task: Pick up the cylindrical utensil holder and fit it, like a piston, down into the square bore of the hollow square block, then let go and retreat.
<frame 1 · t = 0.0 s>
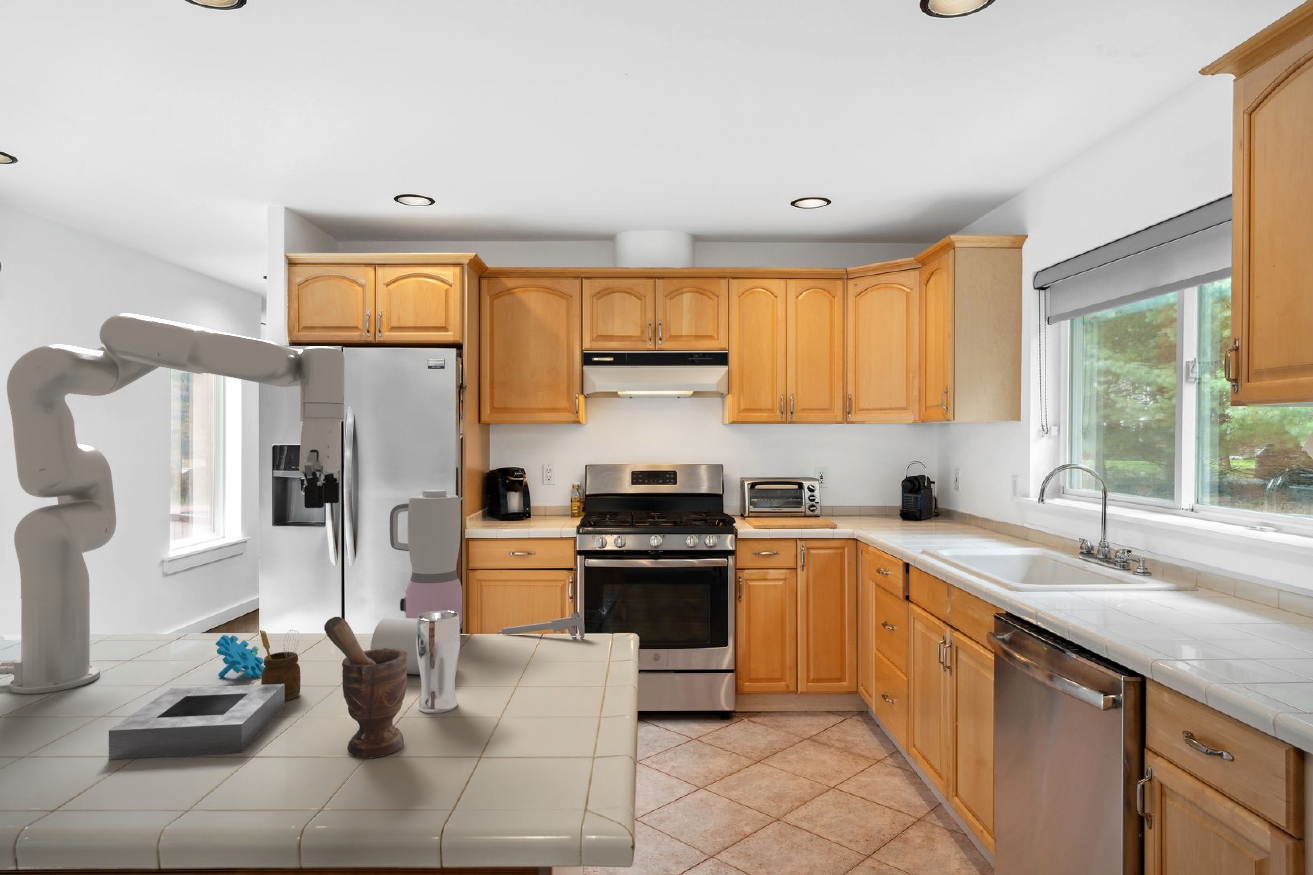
hand: (322, 505, 139), 31 cm above the counter, fingers open, 9 cm apart
blender: (426, 634, 166), on the counter
gear: (241, 677, 137), on the counter
toilet paper: (408, 673, 140), on the counter
hollow square block: (204, 731, 111), on the counter
mortar and pestle: (368, 754, 104), on the counter
utensil holder: (280, 698, 126), on the counter
caliper: (539, 638, 165), on the counter
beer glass: (438, 707, 122), on the counter
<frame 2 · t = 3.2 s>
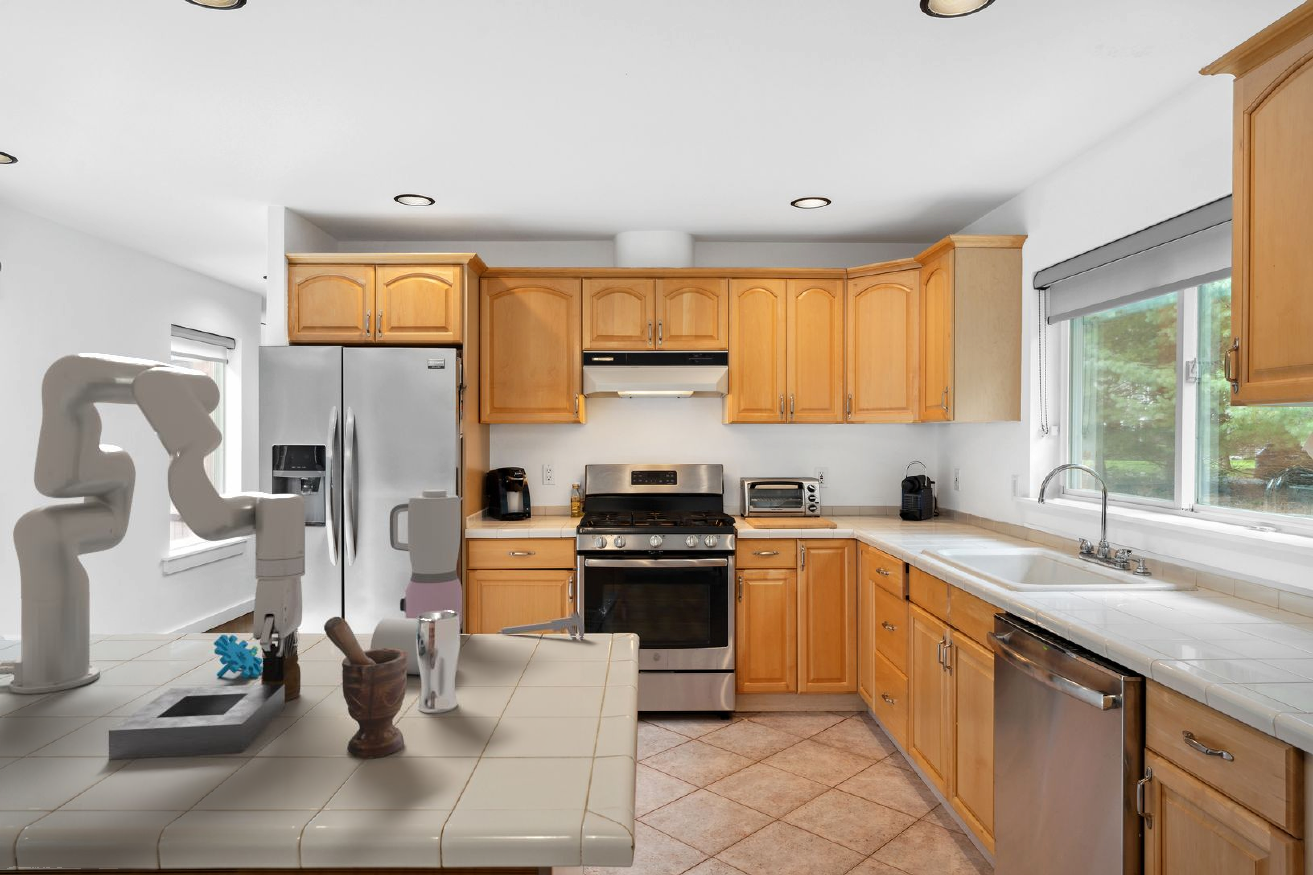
hand: (280, 673, 126), 4 cm above the counter, fingers closed on utensil holder, 5 cm apart
utensil holder: (280, 698, 126), on the counter, touching gripper
everything else where it was.
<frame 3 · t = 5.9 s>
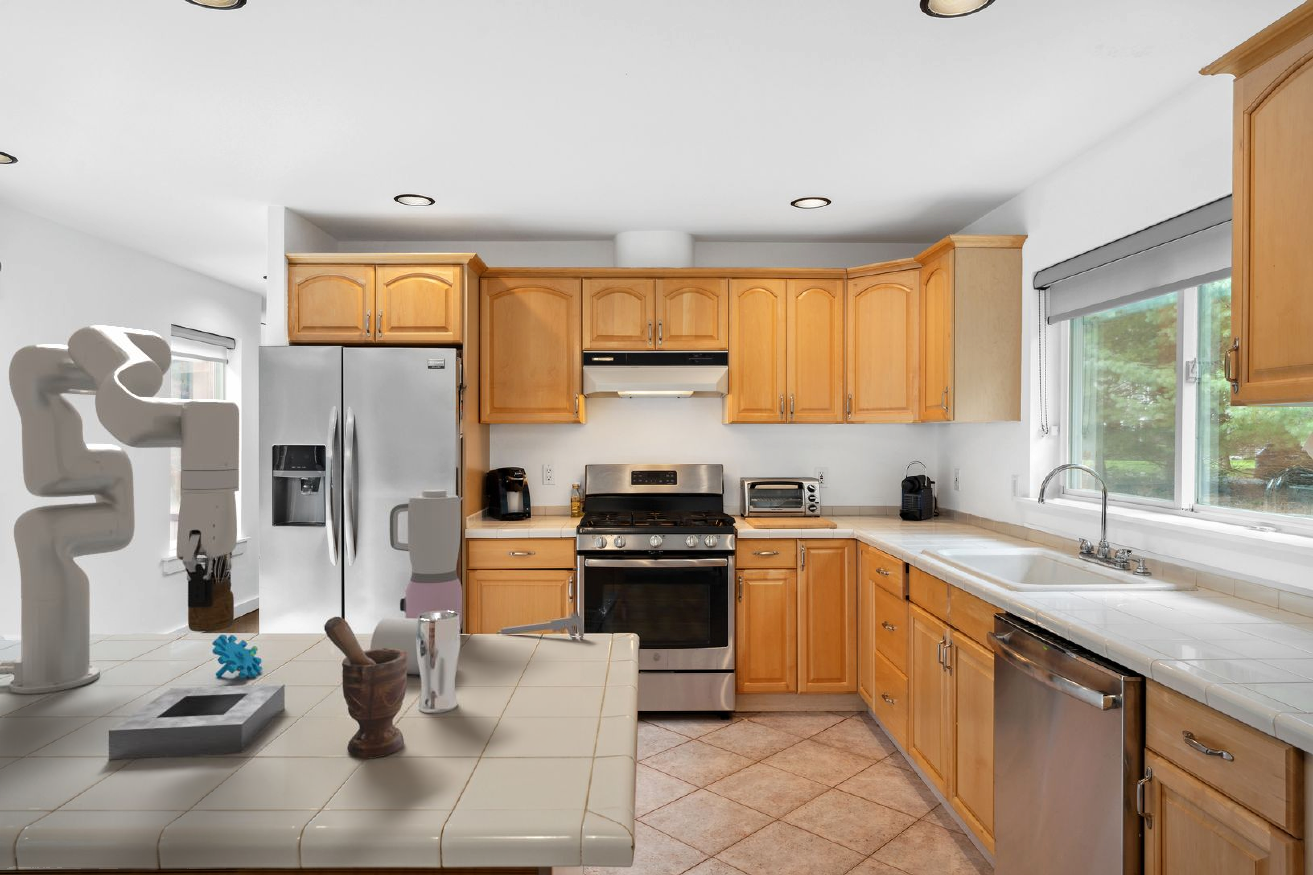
hand: (209, 600, 112), 19 cm above the counter, fingers closed on utensil holder, 5 cm apart
utensil holder: (210, 628, 113), point 15 cm above the counter, touching gripper
everything else where it was.
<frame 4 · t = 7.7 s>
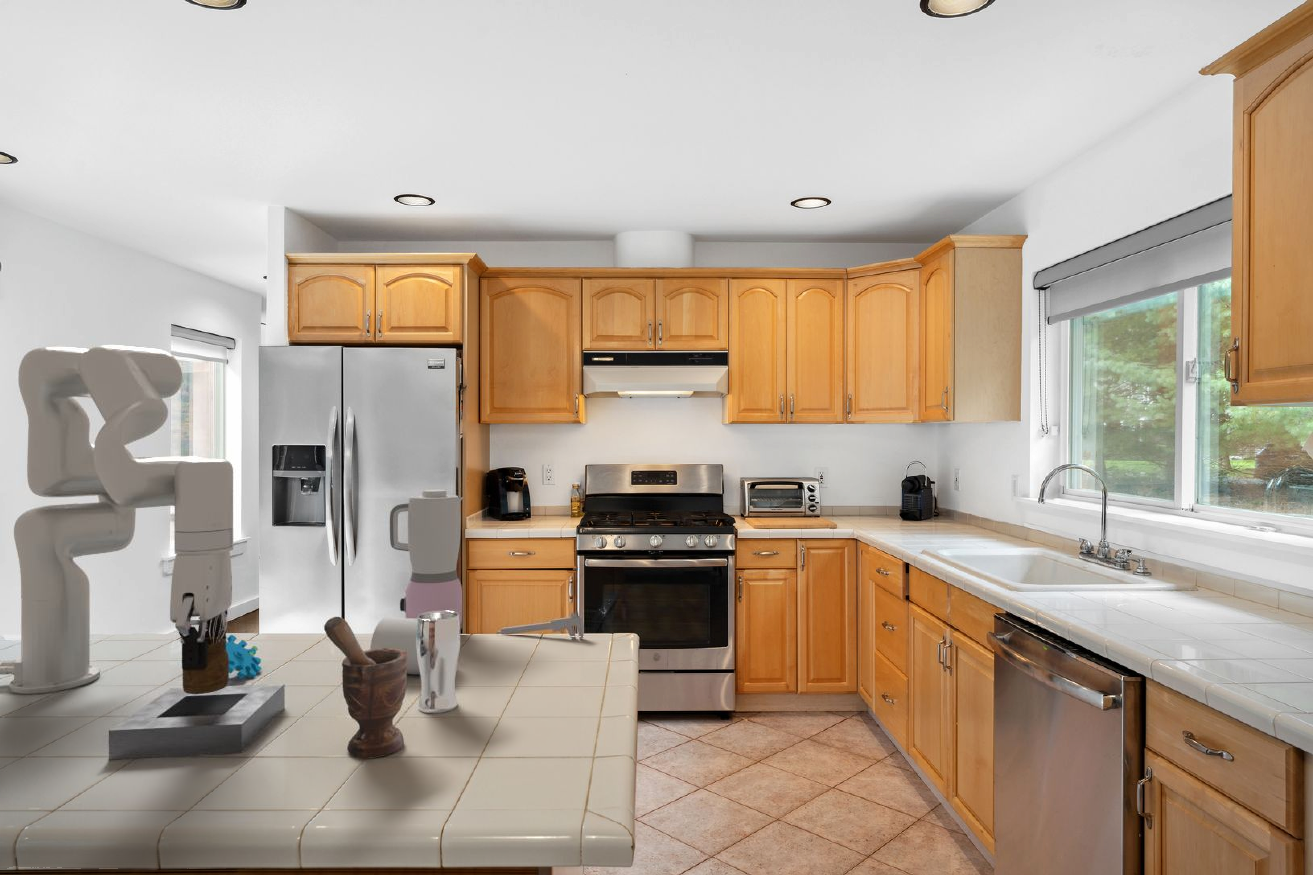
hand: (204, 661, 111), 11 cm above the counter, fingers closed on utensil holder, 5 cm apart
utensil holder: (205, 689, 111), point 6 cm above the counter, touching gripper
everything else where it was.
when the fingers open (5 cm above the counter, at t = 9.1 s): utensil holder drops 1 cm, resting in hollow square block.
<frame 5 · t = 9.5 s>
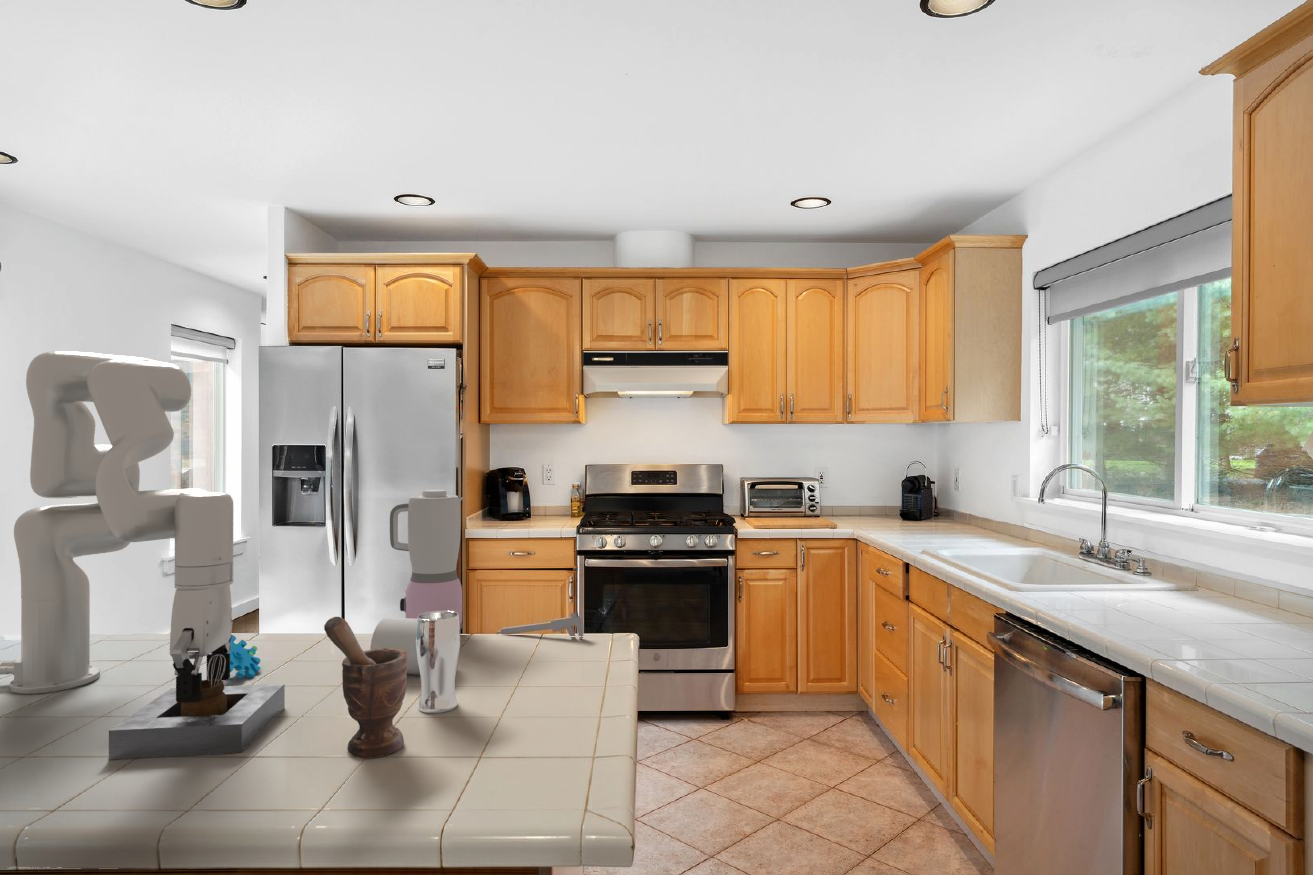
hand: (204, 690, 111), 6 cm above the counter, fingers open, 9 cm apart
utensil holder: (203, 732, 112), resting in hollow square block
everything else where it was.
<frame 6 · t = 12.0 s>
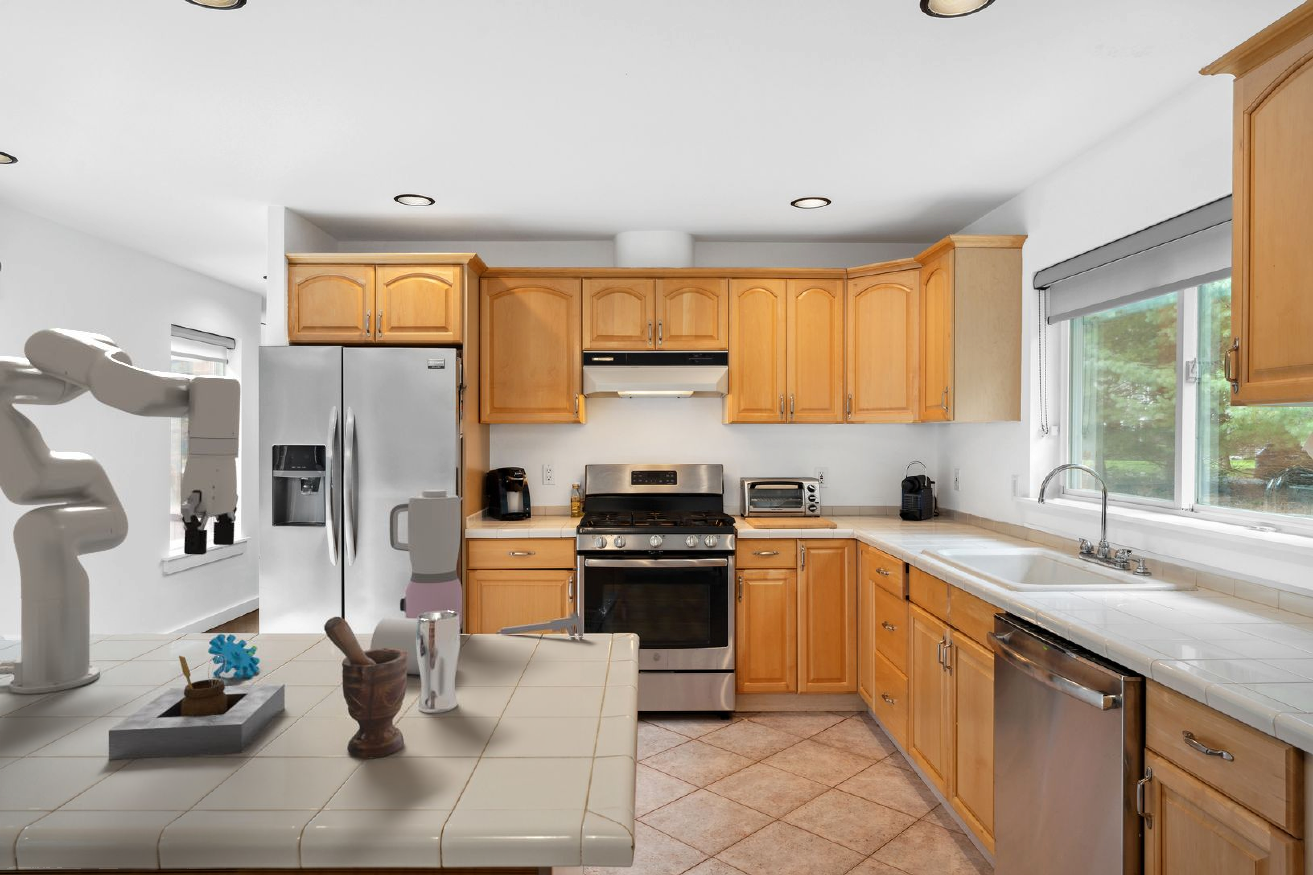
hand: (209, 549, 127), 25 cm above the counter, fingers open, 9 cm apart
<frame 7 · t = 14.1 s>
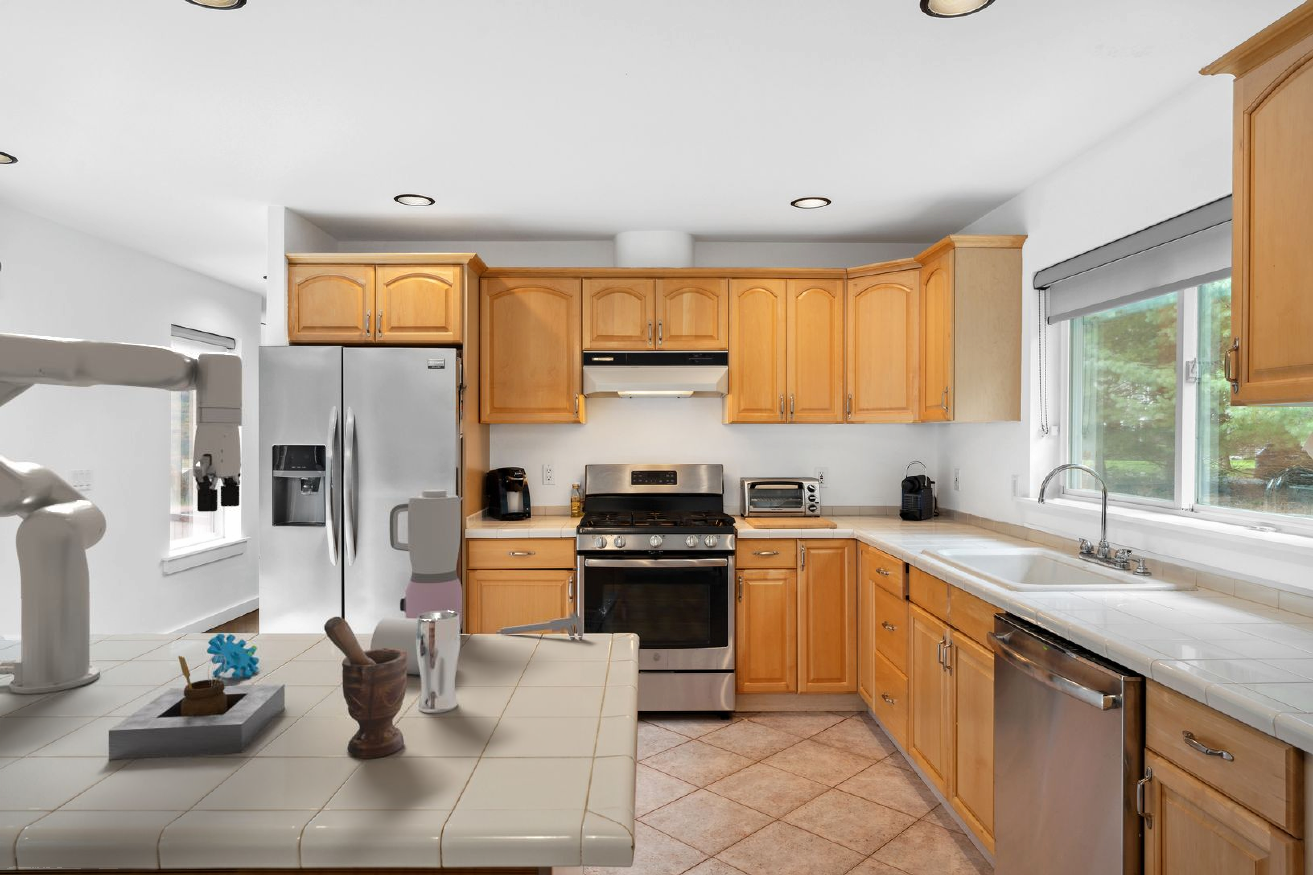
hand: (219, 508, 141), 30 cm above the counter, fingers open, 9 cm apart
at the end: utensil holder 0.3 cm off-centre on the hollow square block, point 0.0 cm above the hollow square block's base; utensil holder touching counter; utensil holder tilted 0° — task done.
